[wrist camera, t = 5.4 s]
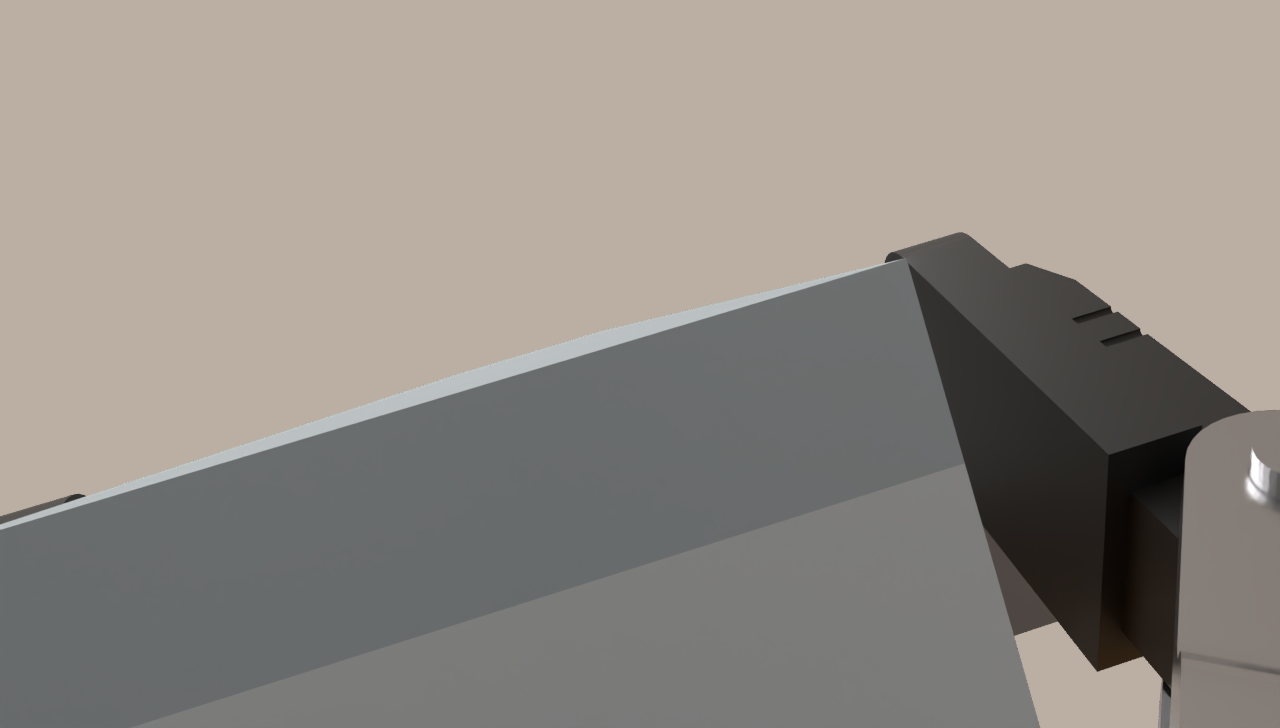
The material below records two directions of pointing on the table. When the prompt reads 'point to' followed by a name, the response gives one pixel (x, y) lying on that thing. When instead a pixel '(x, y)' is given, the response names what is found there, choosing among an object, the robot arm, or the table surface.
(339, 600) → the grey rectangular box
